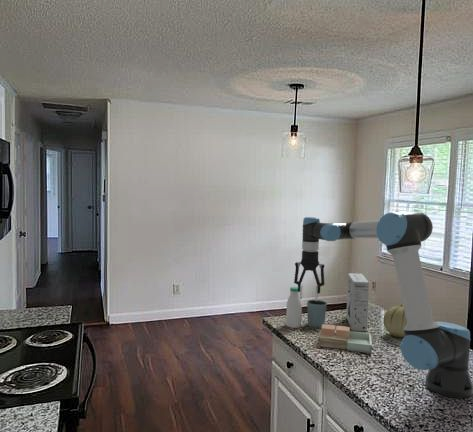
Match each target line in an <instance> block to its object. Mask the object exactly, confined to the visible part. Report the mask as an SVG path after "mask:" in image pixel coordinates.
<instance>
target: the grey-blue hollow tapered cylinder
mask: <svg viewBox="0 0 473 432" xmlns="http://www.w3.org/2000/svg"><path fill="white" fill-rule="evenodd" d="M327 305H328V303H327V301H324V300H320V299H318V300H317V301H315V299H309V300H307V301H306V306H307V307H306V308H307V309H306V310H307V325H308V326H309V327H311V328H322V324H325V323H326V313H327V307H328V306H327Z"/></svg>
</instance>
